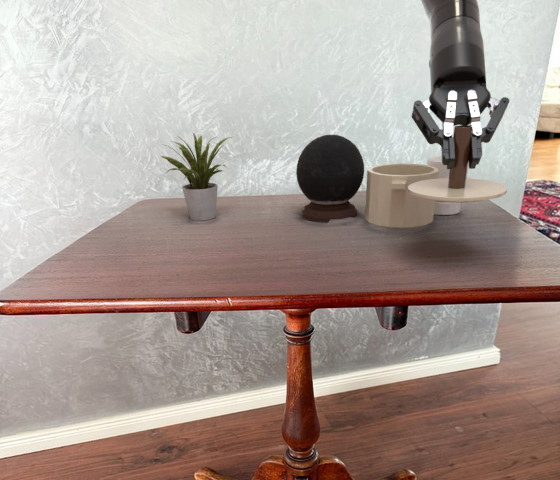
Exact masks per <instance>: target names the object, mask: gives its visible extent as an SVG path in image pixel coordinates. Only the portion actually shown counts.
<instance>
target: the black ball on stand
mask: <svg viewBox="0 0 560 480" xmlns="http://www.w3.org/2000/svg"><path fill="white" fill-rule="evenodd" d="M364 176H365V163H364V159H363V156H362V154H361V151H360V150H359V148H358V147H357V146H356V144H355V143H353V142H352V141H351V140H350V139H348V138H346V137H344V136H342V135H340V134H325V135H321V136H318V137H316V138H314V139H313V140H311V141H310V142H309V143H308V144H307V145H305V147H304V148H303V149H302V151H301V152H300V155H299V157H298V160H297V163H296V181H297V184H298V187H299V189H300V191H301V192H302V194H303V195H304V196H305V197H306V198H307V199H308V200H309V201H310V202H309V203H308V204H306V205H305V206H304V208H303V210H301V217H302V218H303V219H304V220H307V221H311V222H314V223H315V222H316V223H329V222H330V221H331V220H342V219H343V220H344V219H349V218H357V217H358V212H359V211H358V209H357V208H356V205H354V204H353V203H351V202H350V200H351V199H353V197H354V196H355V195H356V194H357V193H358V191H359V189H360V188H361V186H362V185H363V180H364Z"/></svg>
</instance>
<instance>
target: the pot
mask: <svg viewBox="0 0 560 480" xmlns="http://www.w3.org/2000/svg"><path fill="white" fill-rule="evenodd" d="M437 178H438V168H436V167H433V166H429V165H427V164H422V163H387V164H386V163H385V164H384V163H383V164H378V165H374V166H371V167H369V168H368V169H367V171H366V189H365V191H366V192H365V209H364V210H365V211H364V220H365V221H366V222H367V223H369V224H372V225H375V226H379V227H385V228H397V229H399V228H400V229H406V228H407V229H408V228H418V227H422V226H427V225H429V224H432V223H433V222H434V215H435V214H434V206H435V201H433V200H429V199H425V198H420V197H417V196H414V195H412V194H410V193H409V192H408V186H409V185H410V184H412V183H415V182H418V181H423V180H429V179H437Z"/></svg>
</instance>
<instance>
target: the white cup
mask: <svg viewBox="0 0 560 480" xmlns="http://www.w3.org/2000/svg"><path fill="white" fill-rule="evenodd" d="M426 165H429V166H433V167H436V168H438V178H437V179H439V178H449V171H450V169H447V165H443V163H442V155H433V156H430V157H428V158H427V161H426ZM469 170H470V169H469V161H468V169H467V175H468V174H469ZM466 178H468V176H467V177H466ZM461 208H462V203H450V202H439V201H435V206H434V215H436V216H452V215H457V214H459V213H461V210H462V209H461Z"/></svg>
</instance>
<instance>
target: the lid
mask: <svg viewBox="0 0 560 480" xmlns="http://www.w3.org/2000/svg"><path fill="white" fill-rule="evenodd" d="M472 129H473V126H467V125H455V126H453V134H452V137H454V145H455V163H454V166H453V169H450V171H449V178H439V179H429V180H423V181H418V182H415V183H412V184H410V185H409V186H408V192H409V193H410V194H412V195H414V196H417V197H420V198H425V199H429V200H433V201H439V202H450V203H461V204H464V203H465V204H466V203H477V202H482V201H488V200H493V199H498V198H502V197H503V196H505V195H506V194H507V192H508V188H507V186H506V185H504V184H503V183H499V182H497V181H491V180H486V179H478V178H468V174H467V169H468V161H469V153H470V145H471V137H472ZM468 170H469V169H468ZM466 177H467V178H466Z"/></svg>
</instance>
